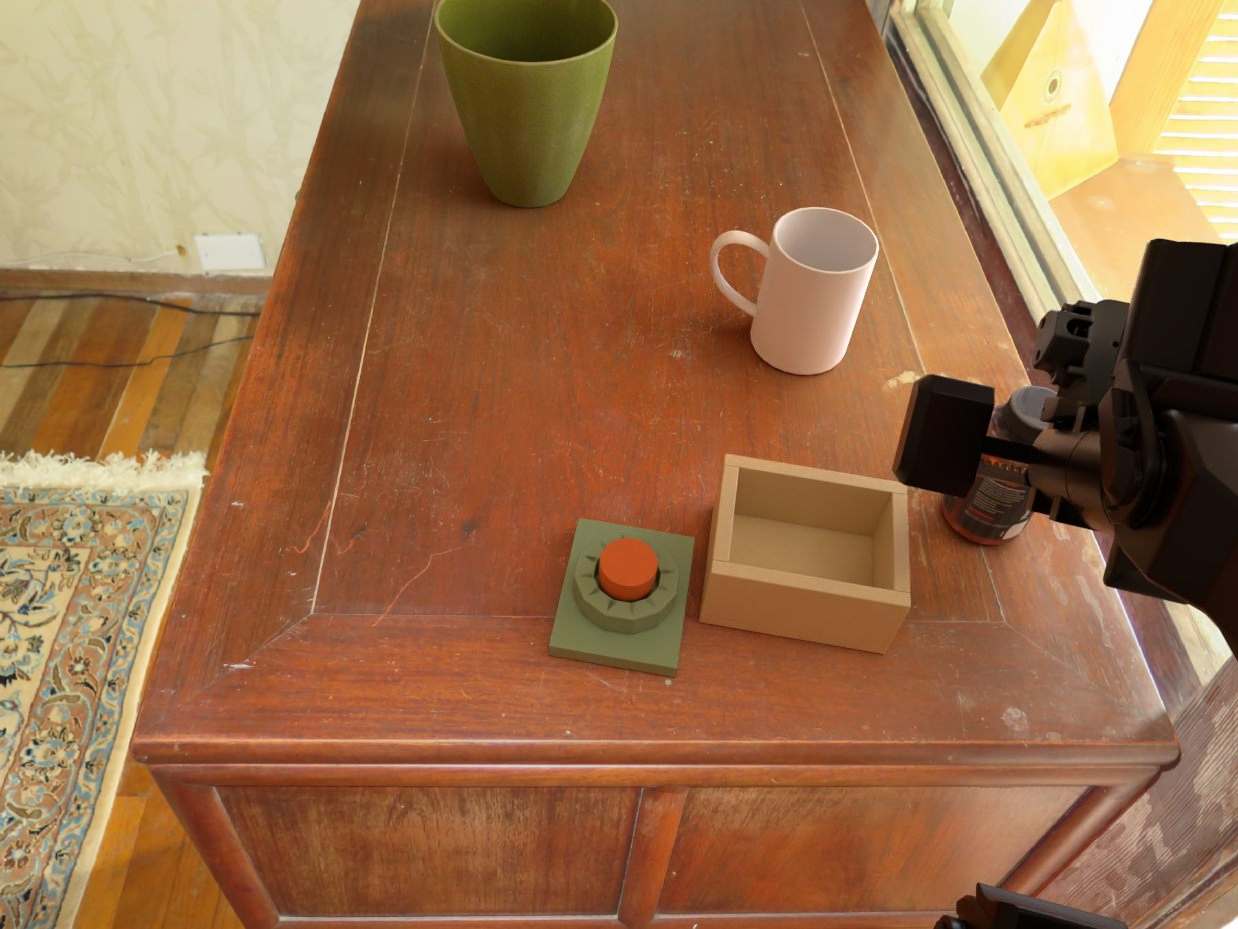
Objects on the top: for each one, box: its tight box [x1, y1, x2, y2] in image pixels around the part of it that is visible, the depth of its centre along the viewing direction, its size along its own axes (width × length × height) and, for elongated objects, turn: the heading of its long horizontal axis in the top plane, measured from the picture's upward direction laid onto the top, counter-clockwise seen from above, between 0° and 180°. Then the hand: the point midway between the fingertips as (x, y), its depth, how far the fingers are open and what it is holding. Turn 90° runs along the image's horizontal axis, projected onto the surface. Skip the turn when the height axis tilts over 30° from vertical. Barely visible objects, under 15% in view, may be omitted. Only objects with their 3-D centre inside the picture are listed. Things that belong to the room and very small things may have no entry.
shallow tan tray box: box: [698, 453, 912, 655], centre depth 64 cm, size 10×12×6 cm
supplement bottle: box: [941, 385, 1057, 546], centre depth 66 cm, size 6×6×11 cm
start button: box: [598, 538, 658, 601], centre depth 62 cm, size 4×4×2 cm
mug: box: [709, 206, 880, 376], centre depth 77 cm, size 12×8×10 cm, turn 82°
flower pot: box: [433, 0, 619, 209], centre depth 86 cm, size 15×15×16 cm
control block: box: [547, 517, 696, 678], centre depth 63 cm, size 10×8×3 cm
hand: (1033, 455), depth 62 cm, fingers open, 9 cm apart
